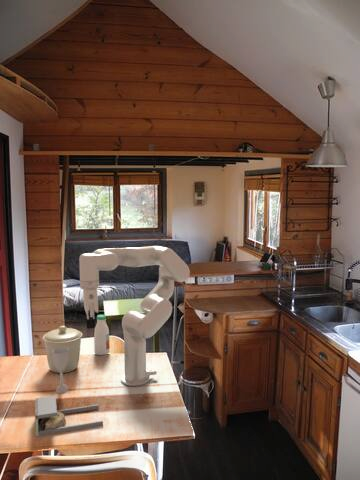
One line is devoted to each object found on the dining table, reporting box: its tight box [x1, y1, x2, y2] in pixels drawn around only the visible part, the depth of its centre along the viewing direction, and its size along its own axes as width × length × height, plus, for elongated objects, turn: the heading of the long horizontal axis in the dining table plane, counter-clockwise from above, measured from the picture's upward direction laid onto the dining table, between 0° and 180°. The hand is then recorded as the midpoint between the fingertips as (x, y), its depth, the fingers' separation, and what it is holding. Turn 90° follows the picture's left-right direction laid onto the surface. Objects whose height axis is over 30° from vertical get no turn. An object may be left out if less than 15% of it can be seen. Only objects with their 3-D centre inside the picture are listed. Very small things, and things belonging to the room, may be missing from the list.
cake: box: [39, 412, 67, 431], centre depth 159 cm, size 10×10×5 cm
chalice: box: [52, 347, 69, 394], centre depth 184 cm, size 7×7×18 cm
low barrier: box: [34, 395, 104, 437], centre depth 161 cm, size 23×13×8 cm, turn 108°
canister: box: [42, 325, 83, 374], centre depth 206 cm, size 18×18×21 cm
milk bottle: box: [93, 314, 111, 356], centre depth 225 cm, size 8×8×20 cm
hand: (90, 327), depth 178 cm, fingers closed
